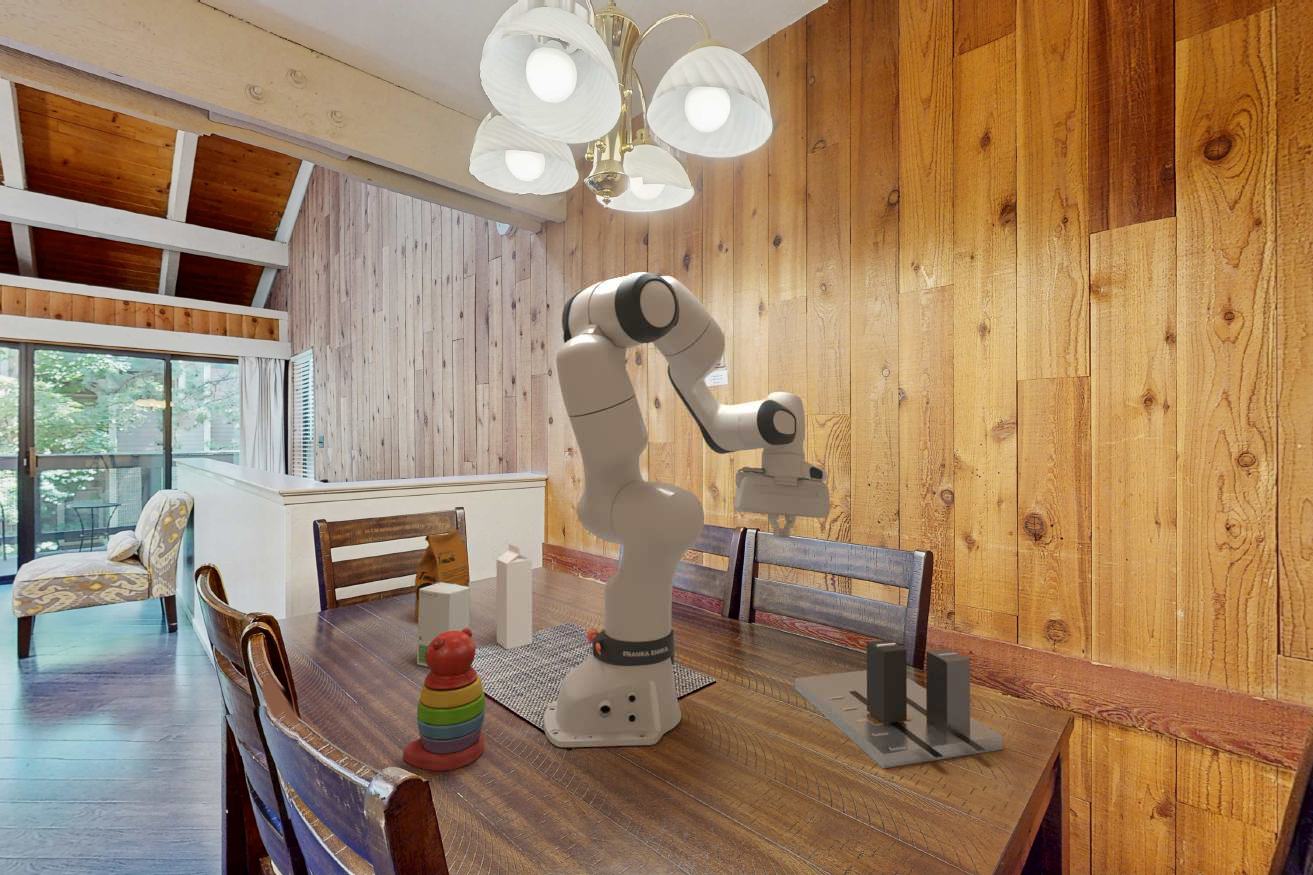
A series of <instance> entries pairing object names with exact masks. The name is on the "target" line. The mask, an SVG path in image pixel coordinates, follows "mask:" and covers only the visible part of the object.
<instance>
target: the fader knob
mask: <svg viewBox="0 0 1313 875" xmlns="http://www.w3.org/2000/svg"><path fill="white" fill-rule="evenodd" d="M866 670H867V711H868V712H870V713H871V714H872V715H873V716H875V717H876V718H877V719H879V720H880V721H881V722H882V723H884V724H886V723H893V722H900V721H907V678H908V677H907V675H908V673H907V649H906V648H904V647H903V646H901V645H899V644H897V643H895V642H894V641H892V640H890V639H884V640H883V639H882V640H881V639H880V640H871V641H866Z"/></svg>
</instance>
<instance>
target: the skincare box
mask: <svg viewBox="0 0 1313 875" xmlns="http://www.w3.org/2000/svg"><path fill="white" fill-rule="evenodd" d="M470 604H471V587H470V586H469V587H466V586H460V585H457V584H448V583H442V582H440V583H436V584H433V585H430V586H427V587H424V588H421V589H419V616H418V622H417V650H416V651H417V652H416V654H417V656H416V664H417V665H418V666H422V667H427V668H429V667H428V665H427V663H426V660H425V651H426V649H427V647H428V646H429V644H430V643H431V642H432V641H433V639H434V638H435V637H437V636H438V635H440V634H442V633H444V632H448V631H462V630H463V629H464V628H469V629H470V607H471V605H470Z"/></svg>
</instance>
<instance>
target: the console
mask: <svg viewBox="0 0 1313 875" xmlns="http://www.w3.org/2000/svg"><path fill="white" fill-rule="evenodd" d="M925 658H926V659H925V662H926V663H925V664H926V668H925V671H926V674H925V675H926V677H925V678H926V680H925V681H926V688H925V687H923V686H921V685H920V684H918V683H916V682H915V681H913V680H912V679H910V678H908V677H907V721H900V722H893V723H886V724H884V723H882V722H881V721H880V720H879V719H877V718H876V717H875V716H873V715H872V714H871V713H870V712H868V711H867V669H866V670H865V669H864V670H858V671H848V672H847V671H846V672H837V673H831V674H830V673H829V674H821V675H811V676H805V677H804V676H803V677H795V678H794V690H796V691H797V692H798V693H799V694H800V695H801V696H802V697H804V698H805V699H806V701H807V702H808V703H810V704H811V705H812V706H813V707H815V708H816V709H817V710H818V711H819V712H820V713H821V714H822V715H824V717H825V718H827V719H828V720H829V721H830V722H831V723H832V724H833V725H834V726H836V728H837V729H839V730H840V731H841V732H842V733H843V734H844V735H845V736H846V737H848V739H850V740H851V741H852V742H853V743H855V744H856V746H858V747H859V748H860V749H861V750H862V751H863V752H864V753H866V754H867V755H868V757H870V758H871V759H872V760H873V762H875V763H876V764H878V765H879V766H880V767H881V768H882V769H888V768H895V767H896V768H897V767H901V766H907V765H913V764H922V763H927V762H933V761H939V760H945V759H952V758H958V757H959V758H960V757H963V756H965V757H966V756H970V755H971V756H972V755H978V754H984V753H990V752H996V751H1001V750H1003V736H1002V735H1001V733H999V732H996V731H994V730H993V729H992V728H990V727H988V726H986V725H985V724H983V723H982V722H980V721H978V720H977V719H975V718H974V717H972V716H971V660H970V659H969V658H967V657H965V656H964V655H961V654H959V653H958V652H955V651H954V650H951V649H949V648H944V649H936V650H927V651H926V654H925Z"/></svg>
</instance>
